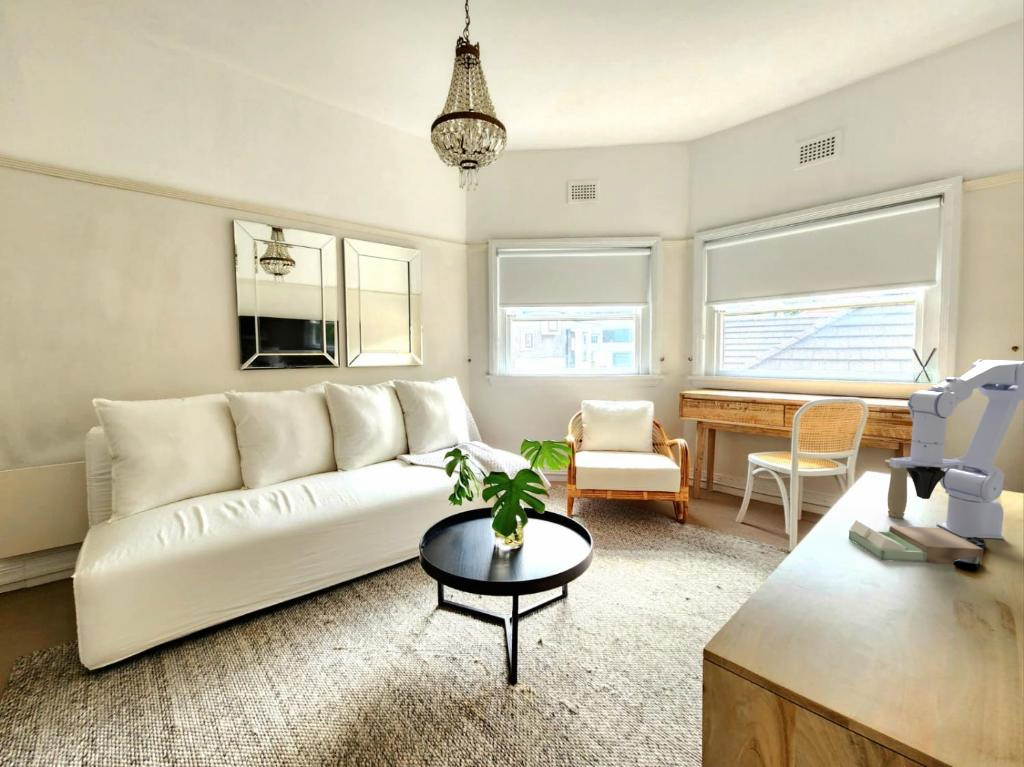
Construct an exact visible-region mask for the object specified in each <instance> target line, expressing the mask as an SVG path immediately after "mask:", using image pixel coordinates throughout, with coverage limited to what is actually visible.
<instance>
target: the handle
mask: <svg viewBox="0 0 1024 767" xmlns="http://www.w3.org/2000/svg"><path fill="white" fill-rule="evenodd" d="M883 465H884V467H886V468H888V469H889V470H890V477H889V478H890V479H889V485H888V492H887V507H888V508H887V509H888V510H887V513H888V516H890V517H893V518H894V517H895V519H896V518H897V519H902V518H904V517H905V511H906V508H907V502H908V475H909V472H908V471H907V469H906V468H904V467H900V468H894V467H892V466H890V459H885V460H884V462H883Z"/></svg>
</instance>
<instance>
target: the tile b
mask: <svg viewBox="0 0 1024 767" xmlns="http://www.w3.org/2000/svg"><path fill="white" fill-rule="evenodd" d="M876 531H877V530H874V529H872V532H871V533H870V535H869V537H868V538H867V540H869V541H870V542H872V543H873V544H875V545H876V546H878V547H879V548H881V549H883V550H905V549H906V547H904V546H903V545H901V544H900V543H898V542H896V541H895V540H893V539H891V538H889V537H887V536H885V535H883V534H880V533H878V532H876Z"/></svg>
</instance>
